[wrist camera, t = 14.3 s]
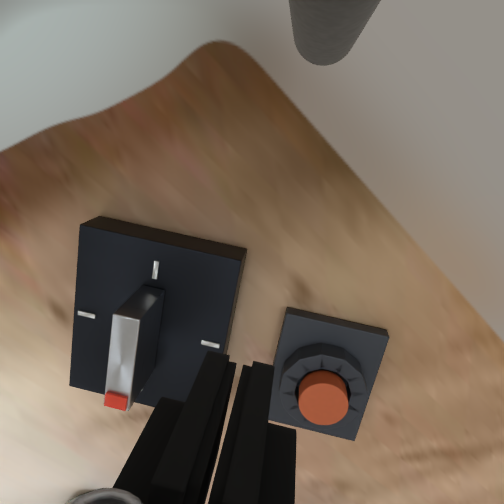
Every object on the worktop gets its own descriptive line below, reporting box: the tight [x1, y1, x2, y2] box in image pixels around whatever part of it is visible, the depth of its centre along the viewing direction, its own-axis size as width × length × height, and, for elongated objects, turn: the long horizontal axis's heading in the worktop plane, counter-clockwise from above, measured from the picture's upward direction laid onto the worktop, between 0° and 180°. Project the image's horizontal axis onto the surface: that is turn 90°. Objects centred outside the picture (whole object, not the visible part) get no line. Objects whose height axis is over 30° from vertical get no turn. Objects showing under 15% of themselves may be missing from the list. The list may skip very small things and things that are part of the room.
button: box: [299, 370, 349, 425], centre depth 31 cm, size 4×4×2 cm
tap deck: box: [69, 216, 247, 407], centre depth 33 cm, size 14×12×3 cm
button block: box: [268, 307, 389, 441], centre depth 33 cm, size 10×8×3 cm
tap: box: [104, 285, 165, 411], centre depth 29 cm, size 7×2×5 cm, turn 169°
